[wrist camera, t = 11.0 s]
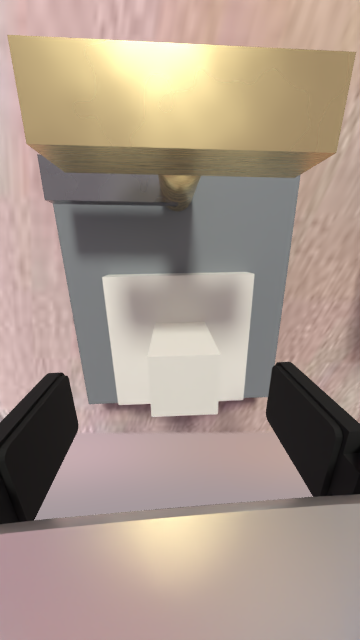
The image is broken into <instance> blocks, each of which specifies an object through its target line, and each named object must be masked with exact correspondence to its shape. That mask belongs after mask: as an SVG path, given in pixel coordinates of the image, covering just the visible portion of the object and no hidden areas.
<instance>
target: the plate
mask: <svg viewBox="0 0 360 640" xmlns="http://www.w3.org/2000/svg"><path fill="white" fill-rule="evenodd" d="M299 181H300V175H299V176H297V177H295V178H272V177H230V176H201V178H200V180H199V183H198V185H197V188H196V190H195V193H194V195H193V198H192V201H191V203H190V204H189V206H188V207H187V208H186V209H184V210H182V211H173V210H170V209H169V208H168V207H167V206H134V205H78V204H53V207H54V212H55V218H56V224H57V229H58V235H59V240H60V246H61V251H62V257H63V263H64V268H65V274H66V279H67V285H68V290H69V296H70V302H71V307H72V313H73V318H74V324H75V329H76V335H77V341H78V346H79V352H80V357H81V363H82V368H83V374H84V380H85V385H86V391H87V396H88V402H89V404H104V403H118V398H117V391H116V383H115V375H114V367H113V359H112V352H111V344H110V336H109V328H108V320H107V312H106V305H105V297H104V289H103V281H102V277H104V276H106V275H120V274H169V273H218V272H249V273H253V274H255V275H254V286H253V297H252V308H251V319H250V331H249V342H248V353H247V364H246V375H245V386H244V397H243V398H254V397H268V394H269V387H270V379H271V372H272V367H273V366H274V365H275V357H276V350H277V343H278V335H279V328H280V321H281V313H282V306H283V299H284V291H285V284H286V277H287V269H288V262H289V255H290V247H291V240H292V233H293V225H294V218H295V211H296V203H297V196H298V189H299Z"/></svg>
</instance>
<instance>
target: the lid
mask: <svg viewBox="0 0 360 640" xmlns="http://www.w3.org/2000/svg"><path fill="white" fill-rule="evenodd" d="M254 275H255V274H253V273H249V272H218V273H169V274H120V275H106V276H104V277H102V281H103V289H104V297H105V305H106V312H107V320H108V328H109V336H110V344H111V352H112V359H113V367H114V375H115V383H116V391H117V398H118V405H133V404H151V416H152V417H163V416H186V415H209V414H218V401H231V400H243V397H244V386H245V375H246V364H247V353H248V342H249V331H250V319H251V308H252V297H253V286H254Z"/></svg>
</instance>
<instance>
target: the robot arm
mask: <svg viewBox="0 0 360 640" xmlns="http://www.w3.org/2000/svg"><path fill="white" fill-rule="evenodd" d="M266 417H267V420H268V422H269V423H270V425H271V427H272V428H273V430H274V432H275V434H276V435H277V437H278V439H279V440H280V442H281V444H282V445H283V447H284V448H285V450H286V452H287V454H288V455H289V457H290V459H291V460H292V462H293V464H294V465H295V467H296V469H297V470H298V472H299V474H300V475H301V477H302V479H303V480H304V482H305V484H306V485H307V487H308V489H309V490H310V492H311V494H312V495H313V497H305V498H292V499H279V500H266V501H253V502H240V503H228V504H215V505H204V506H192V507H180V508H167V509H155V510H144V511H132V512H121V513H111V514H99V515H88V516H76V517H65V518H54V519H44V520H35V521H34V519H35V517H36V515H37V513H38V511H39V509H40V507H41V505H42V503H43V501H44V499H45V497H46V495H47V493H48V491H49V489H50V487H51V485H52V482H53V480H54V478H55V476H56V474H57V472H58V470H59V468H60V466H61V464H62V462H63V460H64V457H65V456H66V454H67V452H68V450H69V448H70V446H71V444H72V442H73V439H74V437H75V435H76V433H77V431H78V420H77V416H76V411H75V406H74V401H73V397H72V392H71V387H70V382H69V378H68V376H65V375H64V374H63V373H48V374H47V375H46V376H45V377H44V378H43V379H42V380H41V381H40V382H39V383H38V384H37V385H36V386H35V387H34V388H33V389H32V390H31V391H30V392H29V393H28V394H27V395H26V396H25V397H24V398H23V399H22V401H21V402H20V403H19V404H18V405H17V406H16V407H15V408H14V409H13V410H12V411H11V412H10V413H9V414H8V415H7V416H6V417H5V418H4V419H3V420H2V421H1V422H0V640H360V424H359V423H358V422H357V421H356V420H355V419H354V418H353V417H352V416H350V415H349V414H348V413H347V412H346V411H345V410H344V409H343V408H341V407H340V406H339V405H338V404H337V403H336V402H335V401H334V400H333V399H331V398H330V397H329V396H328V395H327V394H326V393H325V392H324V391H322V390H321V389H320V388H319V387H318V386H317V385H316V384H315V383H314V382H312V381H311V380H310V379H309V378H308V377H307V376H306V375H305V374H304V373H302V372H301V371H300V370H299V369H298V368H297V367H296V366H295V365H293V364H292V363H291V362H278V363H276V365H275V366H273V367H272V372H271V379H270V387H269V394H268V401H267V408H266Z"/></svg>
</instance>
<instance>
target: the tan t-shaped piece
mask: <svg viewBox="0 0 360 640" xmlns="http://www.w3.org/2000/svg"><path fill="white" fill-rule="evenodd" d="M7 36H8V41H9V47H10V53H11V58H12V64H13V70H14V75H15V81H16V86H17V92H18V98H19V103H20V109H21V115H22V120H23V126H24V132H25V137H26V143H27V145H29V146H30V147H31V148H33V149H34V150H35V151H37V152H38V153H39V154H41V155H38V154H37V155H38V161H39V167H40V173H41V179H42V186H43V192H44V198H45V200H46V201H49V202H51V203H53V204H78V205H134V206H167V207H168V208H169V209H170V210H173V211H182V210H184V209H186V208H187V207H188V206H189V204H190V203H191V201H192V198H193V195H194V193H195V190H196V188H197V185H198V183H199V180H200V178H201V176H230V177H272V178H295V177H297V176H299V175H300V174H302V173H304V172H305V171H307V170H309V169H310V168H312V167H313V166H315V165H317V164H318V163H320V162H322V161H323V160H325V159H327V158H328V157H330V156H332V155H333V154H335V153H336V151H337V146H338V141H339V136H340V131H341V126H342V121H343V116H344V110H345V105H346V100H347V95H348V90H349V85H350V80H351V75H352V70H353V65H354V60H355V55H356V52H346V51H325V50H305V49H285V48H264V47H244V46H223V45H203V44H183V43H162V42H142V41H122V40H101V39H81V38H60V37H40V36H20V35H7Z"/></svg>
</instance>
